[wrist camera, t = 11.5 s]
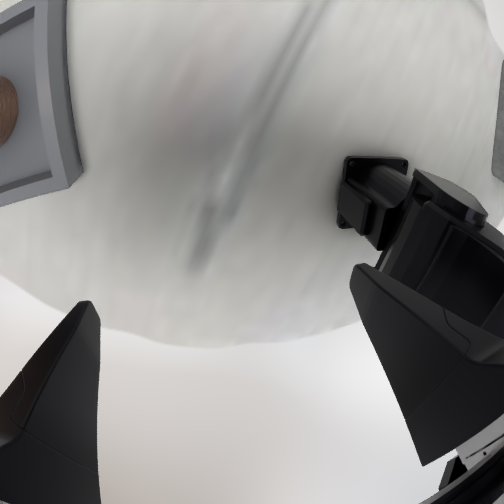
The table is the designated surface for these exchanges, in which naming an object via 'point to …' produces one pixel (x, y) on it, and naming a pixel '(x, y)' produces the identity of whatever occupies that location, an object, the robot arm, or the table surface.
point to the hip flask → (499, 135)
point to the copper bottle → (7, 109)
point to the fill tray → (37, 102)
